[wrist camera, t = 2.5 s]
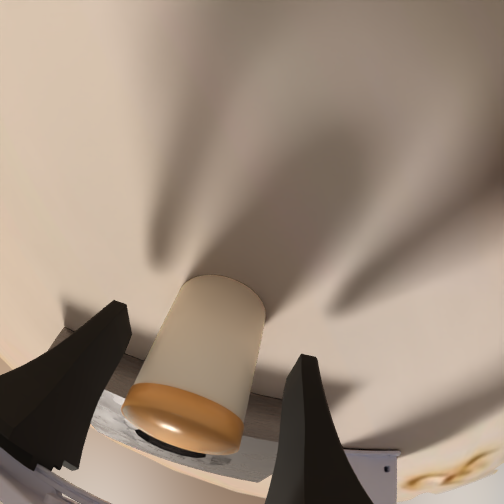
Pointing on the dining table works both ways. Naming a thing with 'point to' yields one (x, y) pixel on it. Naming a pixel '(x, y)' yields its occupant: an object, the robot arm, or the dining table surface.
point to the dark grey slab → (233, 465)
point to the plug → (200, 368)
